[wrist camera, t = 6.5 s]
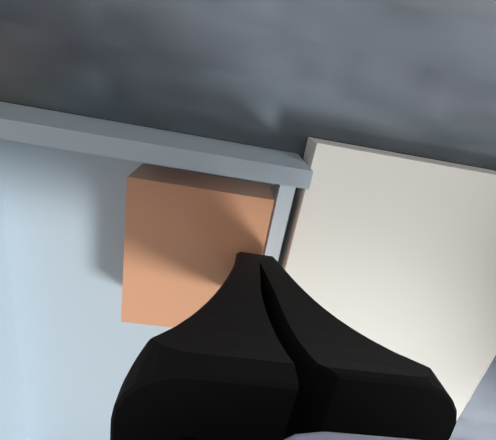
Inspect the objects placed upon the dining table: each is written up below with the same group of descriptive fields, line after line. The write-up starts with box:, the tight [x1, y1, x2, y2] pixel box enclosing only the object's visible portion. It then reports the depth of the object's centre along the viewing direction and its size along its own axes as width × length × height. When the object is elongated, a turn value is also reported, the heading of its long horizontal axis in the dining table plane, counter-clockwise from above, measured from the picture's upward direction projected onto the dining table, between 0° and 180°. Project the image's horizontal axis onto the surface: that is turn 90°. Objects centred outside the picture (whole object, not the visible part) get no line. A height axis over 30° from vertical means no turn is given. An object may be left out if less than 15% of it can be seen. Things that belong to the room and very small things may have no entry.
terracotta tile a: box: [121, 164, 274, 328], centre depth 13 cm, size 5×6×2 cm
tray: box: [0, 102, 314, 440], centre depth 15 cm, size 12×21×3 cm, turn 170°
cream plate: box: [278, 137, 496, 421], centre depth 17 cm, size 11×22×2 cm, turn 170°
